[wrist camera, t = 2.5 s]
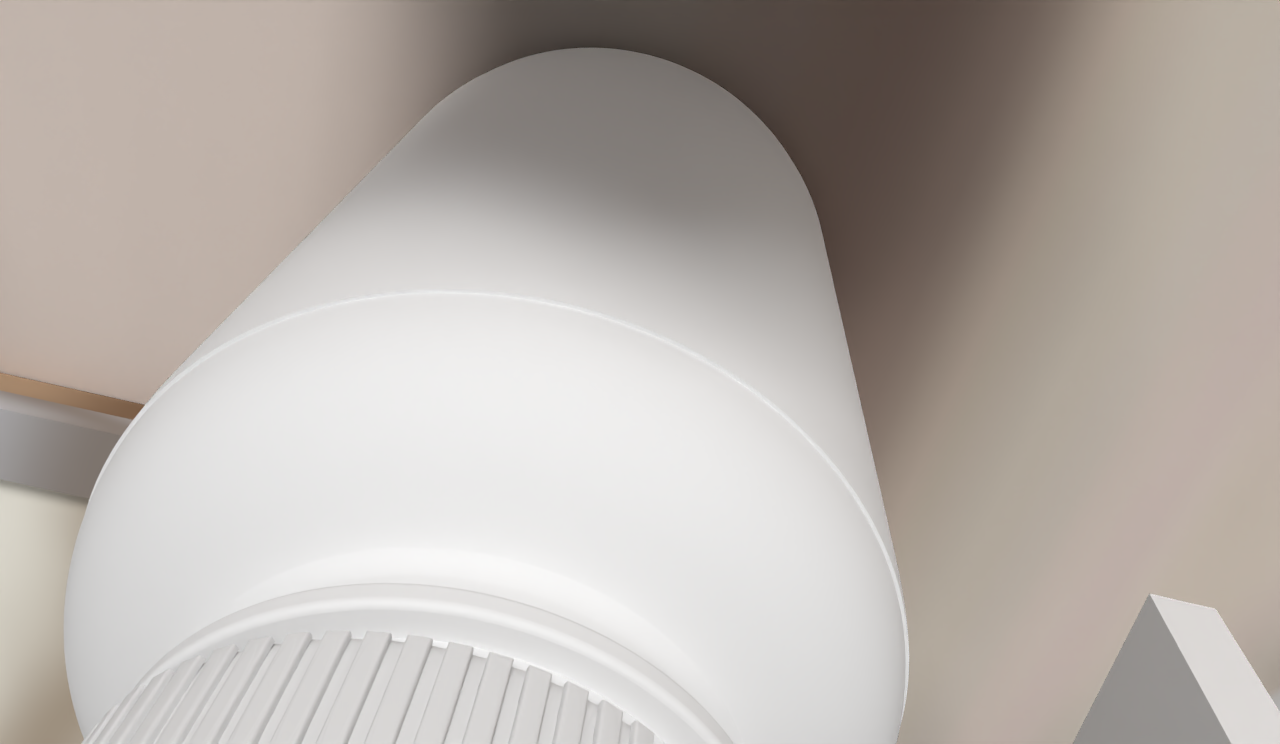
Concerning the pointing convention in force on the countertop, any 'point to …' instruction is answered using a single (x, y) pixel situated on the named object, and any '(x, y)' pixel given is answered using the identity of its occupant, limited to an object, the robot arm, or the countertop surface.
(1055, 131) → the countertop surface
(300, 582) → the pill bottle
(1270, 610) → the countertop surface
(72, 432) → the clipboard
